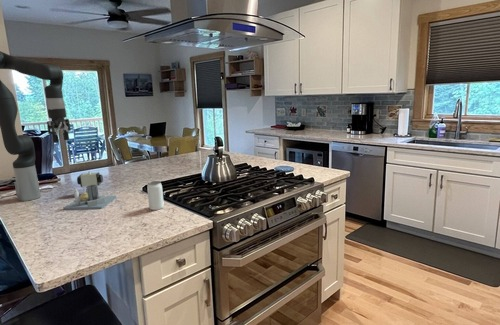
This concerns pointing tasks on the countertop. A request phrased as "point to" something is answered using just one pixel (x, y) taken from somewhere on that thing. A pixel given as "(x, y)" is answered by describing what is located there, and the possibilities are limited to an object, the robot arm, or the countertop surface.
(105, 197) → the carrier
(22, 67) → the robot arm
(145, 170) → the countertop surface
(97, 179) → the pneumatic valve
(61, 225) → the countertop surface
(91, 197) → the planet gear
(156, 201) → the can
